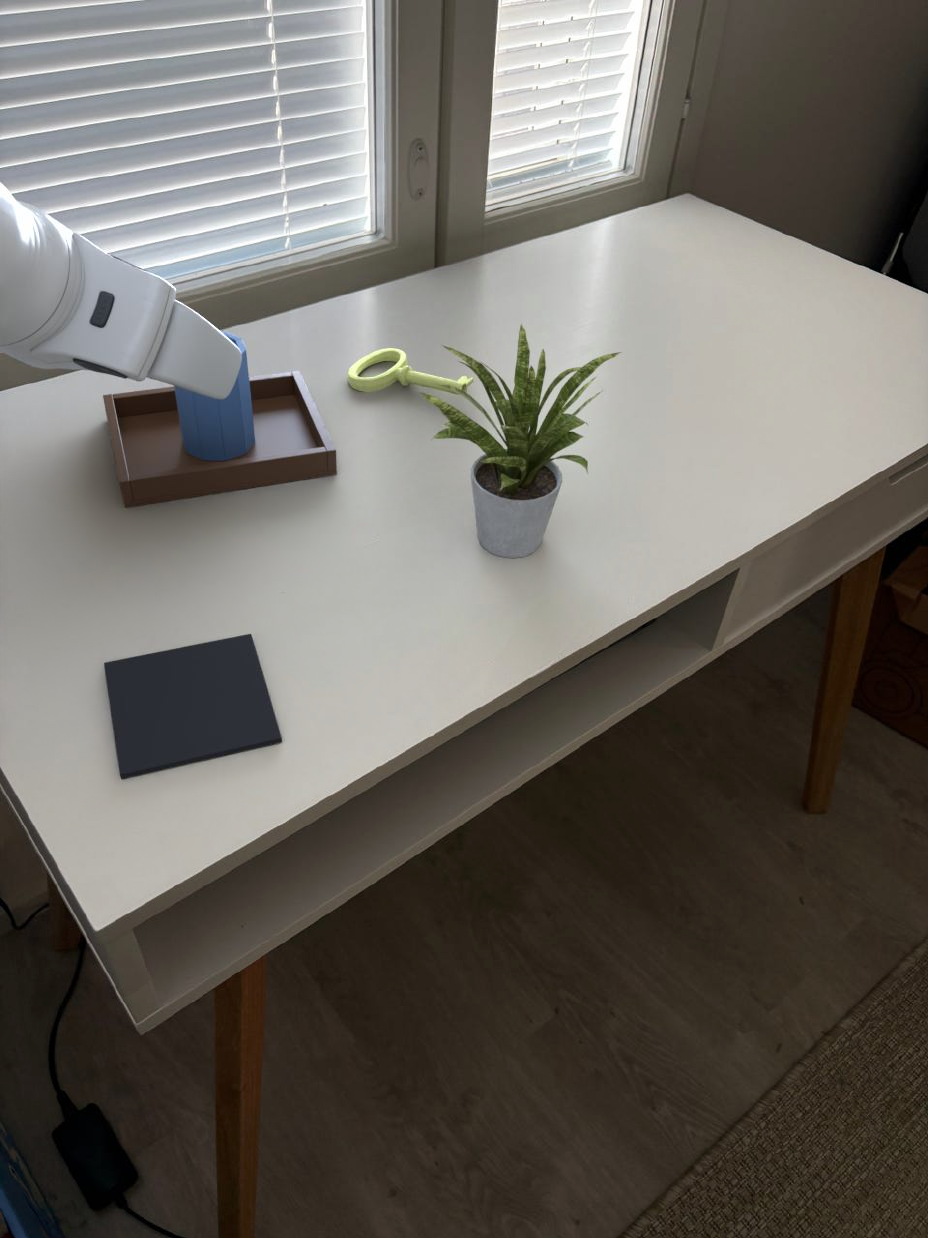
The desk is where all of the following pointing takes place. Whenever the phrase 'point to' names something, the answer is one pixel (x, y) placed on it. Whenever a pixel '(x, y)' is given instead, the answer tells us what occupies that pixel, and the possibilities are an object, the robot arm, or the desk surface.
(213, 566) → the desk surface
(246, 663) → the mat
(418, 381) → the key
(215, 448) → the blue faceted tube
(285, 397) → the tray
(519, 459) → the house plant
